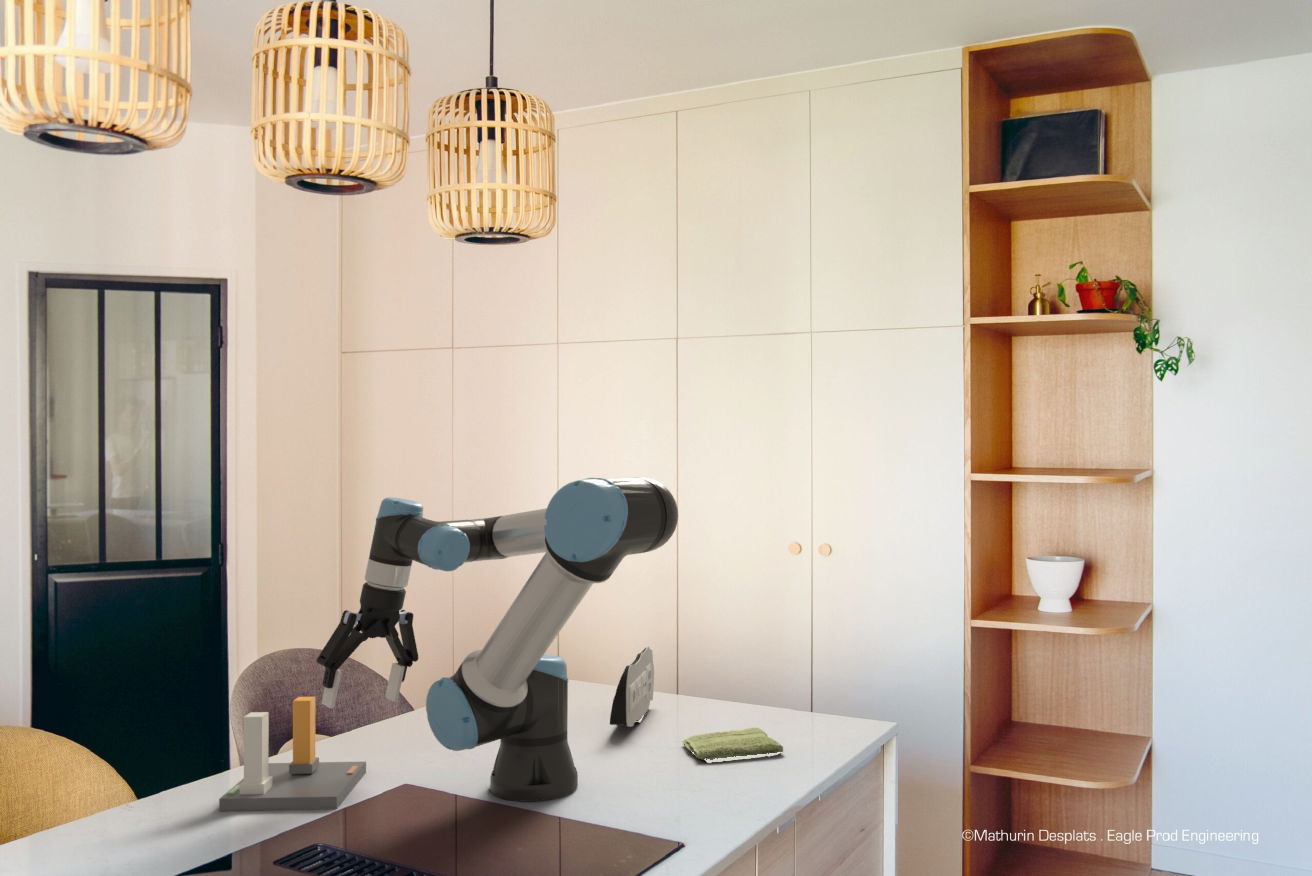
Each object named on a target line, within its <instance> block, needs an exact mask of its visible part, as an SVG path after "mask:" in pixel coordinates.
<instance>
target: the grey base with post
mask: <svg viewBox="0 0 1312 876" xmlns="http://www.w3.org/2000/svg"><path fill="white" fill-rule="evenodd" d="M269 717H270V716H269V712H268V711H261V712H260V711H256V712H255V711H254V712H253V711H251V712H249V713H247V714H246V715H245V716H243V778H242V779H241V780H239V781H238V782H237V783H236V784H235V785H233V786H232V787H231V788H230V789H229V790H228V791H227V792H226V793H225V794H223V795H222V796H221V797H220V798H219V799H218V802H219V804H218V805H219V806H218V807H219V808H218V809H219V812H237V811H238V812H239V811H240V812H241V811H242V812H243V811H247V812H248V811H285V810H286V811H287V810H288V811H291V810H295V811H296V810H298V811H299V810H336V809H338V808H339V807H340V805H342V804H343V802H344V801H345V800H346V798H347V797H348V796H349V794H350V793H351V792H352V791H353V790H354V789H355V787H356V786H357V785H358V783H359V782H360V781H361V780H362V779H363V777H364V776H365V775H366V773H367V761H338V762H337V761H332V762H331V761H326V762H325V761H321V762H320V761H319V767H318V768H317V769H316V770H315V771H314V772H313V773H312V774H289V764H290V763H291V762H271V763H269V726H270V725H269V724H270V723H269V721H270V719H269Z"/></svg>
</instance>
